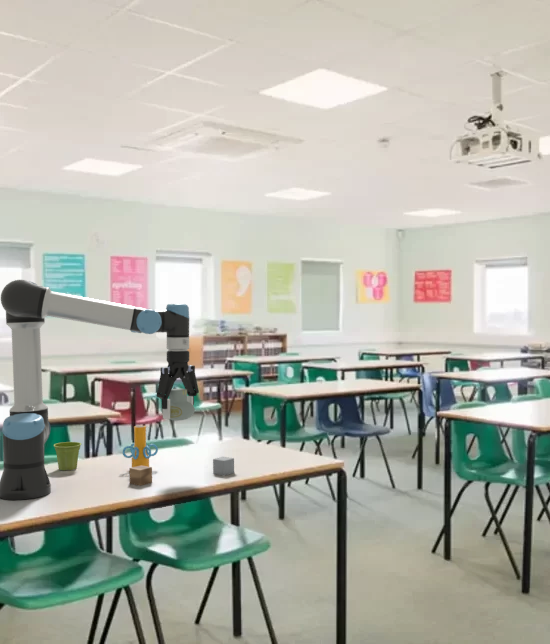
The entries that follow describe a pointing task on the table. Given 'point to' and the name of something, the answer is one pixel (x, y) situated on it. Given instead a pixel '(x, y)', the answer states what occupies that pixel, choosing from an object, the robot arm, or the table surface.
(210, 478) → the table surface
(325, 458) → the table surface
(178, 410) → the air freshener
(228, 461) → the grey block
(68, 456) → the plant pot
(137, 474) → the walnut block
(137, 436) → the cylinder
